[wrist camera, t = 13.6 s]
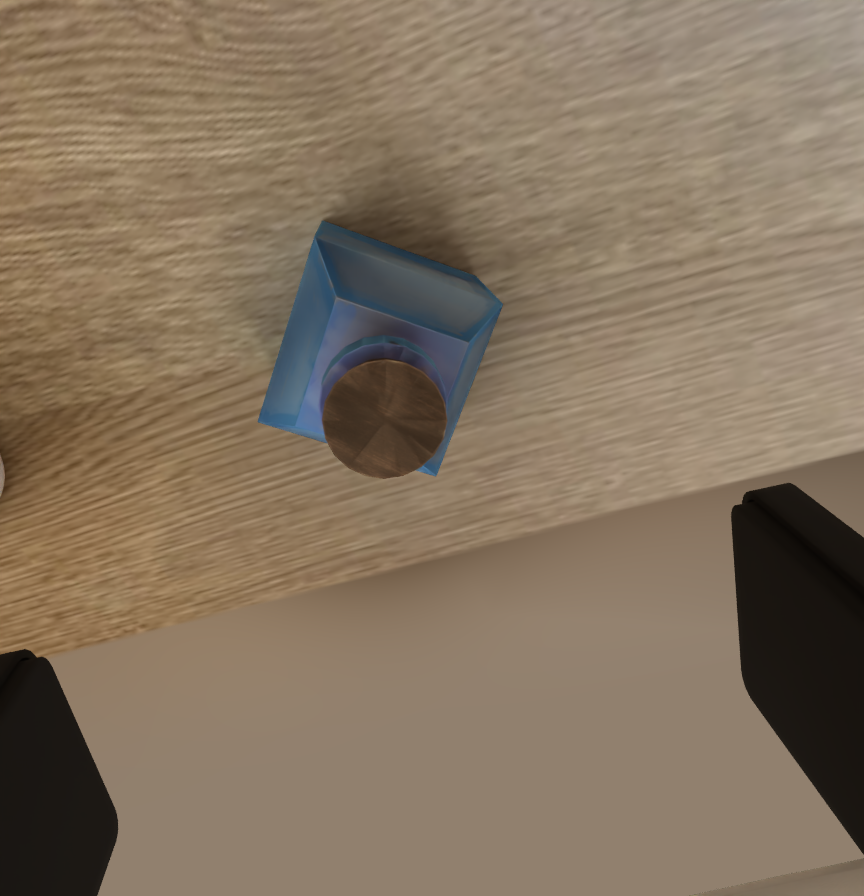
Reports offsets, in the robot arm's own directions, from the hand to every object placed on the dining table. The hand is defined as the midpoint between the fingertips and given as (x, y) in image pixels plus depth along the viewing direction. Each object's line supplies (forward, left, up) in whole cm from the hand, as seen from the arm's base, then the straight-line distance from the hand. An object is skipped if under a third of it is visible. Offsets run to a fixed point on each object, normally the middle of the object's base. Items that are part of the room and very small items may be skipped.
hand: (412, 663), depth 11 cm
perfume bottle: (0, 0, -22) cm, 22 cm away
